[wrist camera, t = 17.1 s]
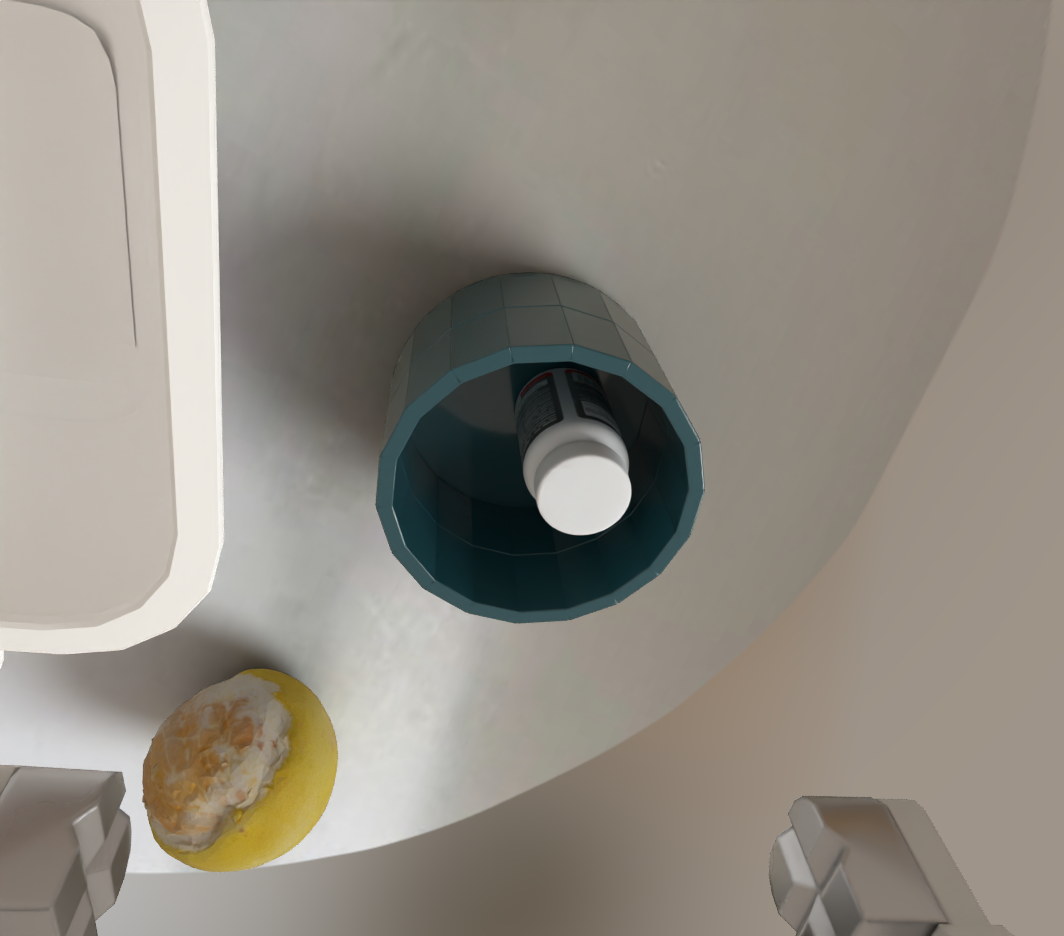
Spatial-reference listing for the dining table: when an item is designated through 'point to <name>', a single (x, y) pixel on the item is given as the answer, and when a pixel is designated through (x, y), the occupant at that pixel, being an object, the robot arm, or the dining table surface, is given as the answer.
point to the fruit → (240, 772)
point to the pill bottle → (572, 452)
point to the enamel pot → (495, 463)
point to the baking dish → (107, 322)
